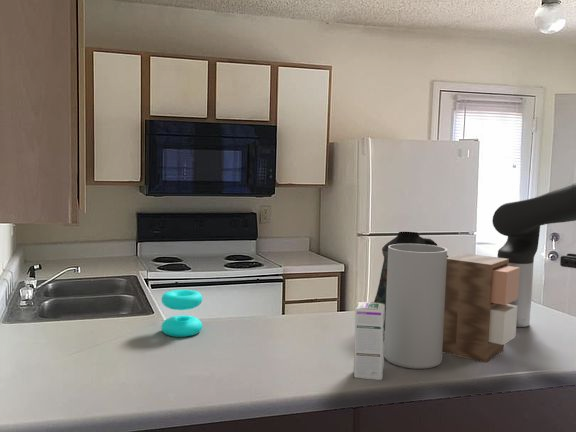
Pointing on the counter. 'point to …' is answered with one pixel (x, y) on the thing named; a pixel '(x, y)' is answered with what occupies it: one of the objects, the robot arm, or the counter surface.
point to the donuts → (182, 323)
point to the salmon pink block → (505, 284)
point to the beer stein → (400, 239)
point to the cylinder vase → (415, 305)
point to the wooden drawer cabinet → (469, 306)
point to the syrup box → (369, 340)
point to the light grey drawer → (502, 323)
